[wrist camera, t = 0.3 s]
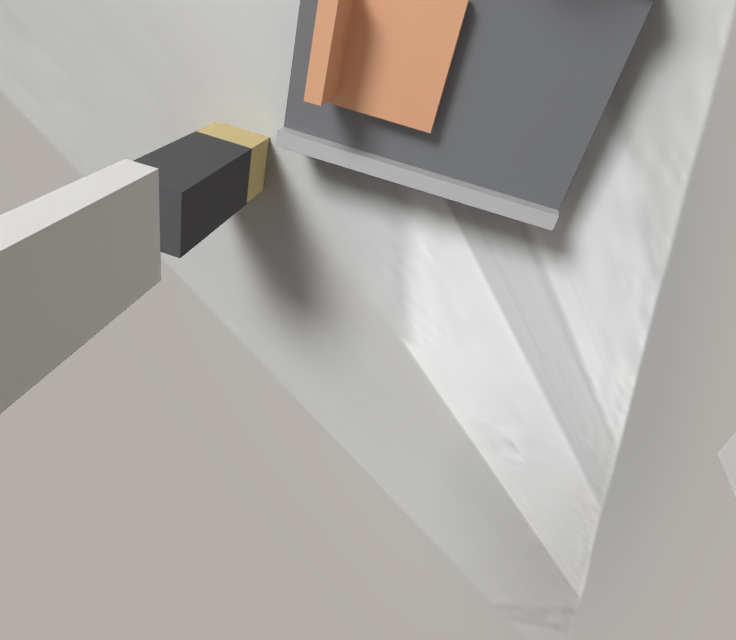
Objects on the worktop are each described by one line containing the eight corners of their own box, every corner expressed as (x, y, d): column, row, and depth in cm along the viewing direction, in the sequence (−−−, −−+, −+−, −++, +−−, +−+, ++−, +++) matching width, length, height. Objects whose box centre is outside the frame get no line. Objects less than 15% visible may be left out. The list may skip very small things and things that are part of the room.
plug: (217, 121, 39) (112, 170, 29) (269, 137, 38) (181, 192, 28) (213, 174, 41) (115, 237, 31) (263, 190, 41) (180, 258, 31)
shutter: (345, -38, 29) (324, -40, 26) (470, -3, 28) (463, -1, 25) (323, 97, 33) (302, 110, 30) (432, 130, 32) (422, 146, 29)
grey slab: (334, -122, 30) (311, -135, 26) (658, -36, 28) (676, -38, 25) (297, 131, 38) (276, 146, 34) (549, 208, 36) (552, 230, 33)
